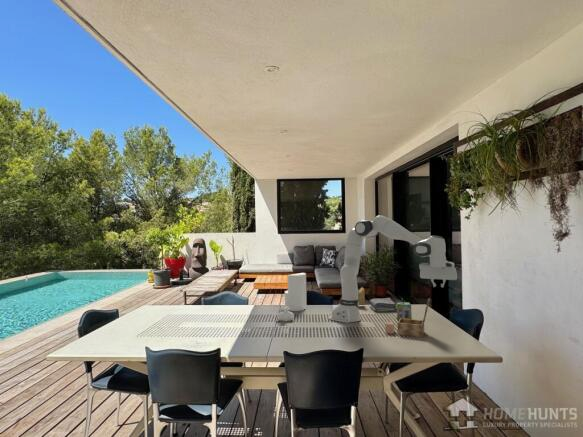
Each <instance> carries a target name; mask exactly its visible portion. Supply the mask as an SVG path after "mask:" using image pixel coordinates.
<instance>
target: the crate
mask: <svg viewBox="0 0 583 437" xmlns="http://www.w3.org/2000/svg"><path fill="white" fill-rule="evenodd" d="M422 324H423V320H421V319H404V318H400V319H399V321H398V320H397V335H398V336H399V335H400V336H406V337H408V336H409V337H416V338H423V337H424V334H425V324H424V325H422Z"/></svg>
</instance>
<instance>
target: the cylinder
mask: <svg viewBox="0 0 583 437" xmlns="http://www.w3.org/2000/svg"><path fill="white" fill-rule="evenodd" d="M284 306H288V307H289V308H290V309H289V310H288V311H289V312H291V311H292V312H299V311H300V310H301V311H304V309H305V310H306V309H307V306H308V305H307V273H306V272H300V273H299V272H298V273H292V274H288V275H287V290H284Z"/></svg>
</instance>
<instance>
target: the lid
mask: <svg viewBox="0 0 583 437" xmlns="http://www.w3.org/2000/svg"><path fill="white" fill-rule="evenodd" d="M430 303H431V298H430V297H429V298H428V299H427V302H426V307H425V312H424V316H423V324H422V325H424V326H425V321H426V319H427V312H428V308H429V304H430Z"/></svg>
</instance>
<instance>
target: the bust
mask: <svg viewBox="0 0 583 437" xmlns="http://www.w3.org/2000/svg"><path fill="white" fill-rule="evenodd" d="M289 309H290V308H289V307H288V306H285V305H284V306H282V307H281V310H282V311H280V312H279V313H277V314H276V316H277V320H278V321H281V322H290V321H294V319H295V313H293V311H292V312H291V311H290V310H289Z"/></svg>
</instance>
